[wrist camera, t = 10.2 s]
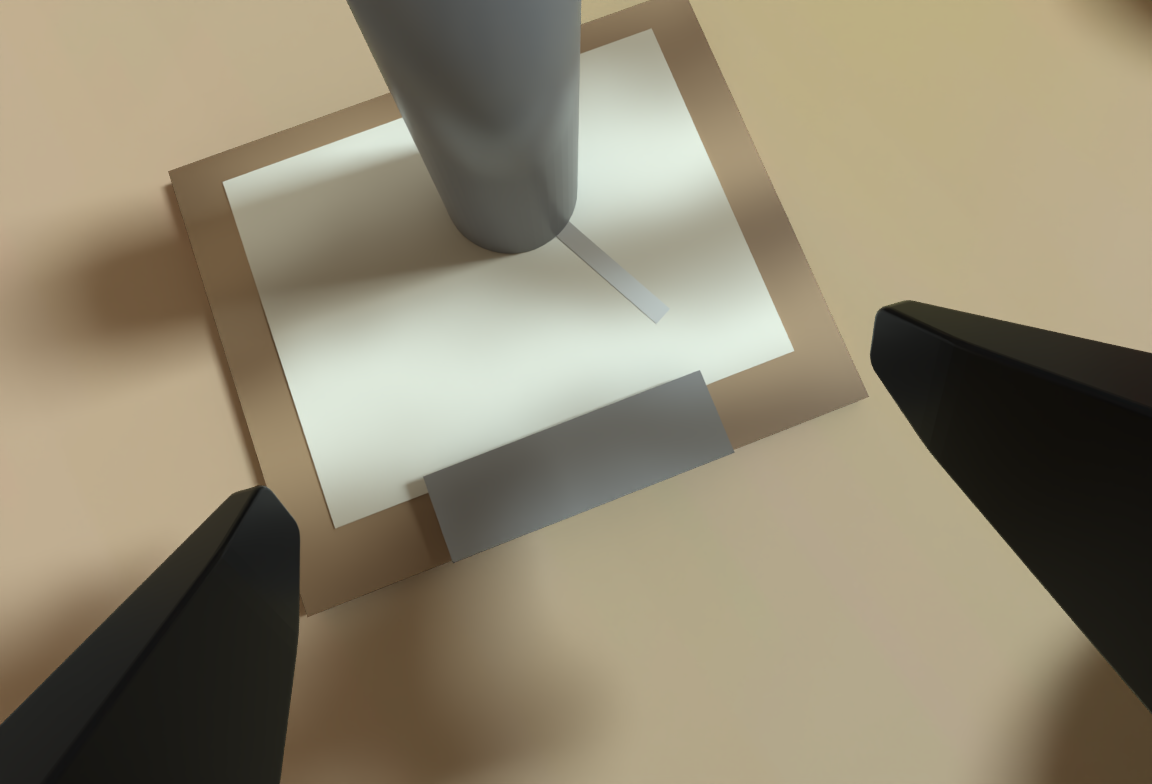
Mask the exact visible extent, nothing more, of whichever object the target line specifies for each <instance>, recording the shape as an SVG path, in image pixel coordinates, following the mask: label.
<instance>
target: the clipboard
mask: <svg viewBox="0 0 1152 784" xmlns="http://www.w3.org/2000/svg"><path fill="white" fill-rule="evenodd" d="M168 172H169V176H170V179H171V182H172V185H173V188H174V192H175V195H176V198H177V201H178V204H179V208H180V211H181V214H182V217H183V220H184V224H185V227H186V230H187V233H188V236H189V240H190V243H191V246H192V249H193V252H194V256H195V259H196V262H197V265H198V268H199V272H200V275H201V278H202V281H203V284H204V288H205V291H206V294H207V297H208V300H209V304H210V307H211V310H212V313H213V316H214V320H215V323H216V326H217V329H218V332H219V336H220V339H221V342H222V345H223V348H224V352H225V355H226V358H227V361H228V364H229V368H230V371H231V374H232V377H233V380H234V384H235V387H236V390H237V393H238V396H239V400H240V403H241V406H242V409H243V412H244V416H245V419H246V422H247V425H248V428H249V432H250V435H251V438H252V441H253V444H254V448H255V451H256V454H257V457H258V460H259V464H260V467H261V470H262V473H263V477H264V480H265V483H266V486H267V487H268V488H269V489H271V491H272V492H273V493H274V494H275V495H276V497H277V498H278V499H279V500H280V502H281V503H282V504H283V505H284V507H285V508H286V509H287V510H288V512H289V513H290V514H291V515H292V517H293V518H294V519H295V521H296V523H297V525H298V528H299V531H300V595H301V598H302V601H303V605H304V608H305V611H306V614H307V617H309V616H312V615H314V614H317V613H319V612H322V611H324V610H327V609H330V608H332V607H335V606H337V605H340V604H342V603H345V602H347V601H350V600H352V599H355V598H358V597H360V596H363V595H365V594H368V593H370V592H373V591H375V590H378V589H380V588H383V587H386V586H388V585H391V584H393V583H396V582H398V581H401V580H403V579H406V578H408V577H411V576H414V575H416V574H419V573H421V572H424V571H426V570H429V569H431V568H434V567H437V566H439V565H442V564H444V563H447V562H449V561H452V562H453V563H454V562H457V561H459V560H462V559H465V558H467V557H470V556H472V555H475V554H477V553H480V552H482V551H485V550H487V549H490V548H493V547H495V546H498V545H500V544H503V543H505V542H508V541H510V540H513V539H515V538H518V537H521V536H523V535H526V534H528V533H531V532H533V531H536V530H538V529H541V528H543V527H546V526H549V525H551V524H554V523H556V522H559V521H561V520H564V519H566V518H569V517H571V516H574V515H577V514H579V513H582V512H584V511H587V510H589V509H592V508H594V507H597V506H599V505H602V504H605V503H607V502H610V501H612V500H615V499H617V498H620V497H622V496H625V495H627V494H630V493H633V492H635V491H638V490H640V489H643V488H645V487H648V486H650V485H653V484H655V483H658V482H661V481H663V480H666V479H668V478H671V477H673V476H676V475H678V474H681V473H683V472H686V471H689V470H691V469H694V468H696V467H699V466H701V465H704V464H706V463H709V462H711V461H714V460H717V459H719V458H722V457H724V456H727V455H729V454H732V453H734V449H737V448H740V447H742V446H745V445H747V444H750V443H752V442H755V441H757V440H760V439H762V438H765V437H768V436H770V435H773V434H775V433H778V432H780V431H783V430H785V429H788V428H790V427H793V426H796V425H798V424H801V423H803V422H806V421H808V420H811V419H813V418H816V417H818V416H821V415H824V414H826V413H829V412H831V411H834V410H836V409H839V408H841V407H844V406H846V405H849V404H852V403H854V402H857V401H859V400H862V399H864V398H867V397H869V396H868V393H867V391H866V389H865V387H864V385H863V382H862V380H861V378H860V376H859V374H858V371H857V369H856V367H855V365H854V363H853V360H852V358H851V356H850V354H849V352H848V349H847V347H846V345H845V343H844V341H843V338H842V336H841V334H840V332H839V330H838V327H837V325H836V323H835V321H834V319H833V316H832V314H831V312H830V310H829V308H828V305H827V303H826V301H825V299H824V297H823V294H822V292H821V290H820V288H819V286H818V283H817V281H816V279H815V277H814V275H813V273H812V270H811V268H810V266H809V264H808V262H807V259H806V257H805V255H804V253H803V251H802V248H801V246H800V244H799V242H798V240H797V237H796V235H795V233H794V231H793V229H792V226H791V224H790V222H789V220H788V218H787V215H786V213H785V211H784V209H783V207H782V204H781V202H780V200H779V198H778V196H777V193H776V191H775V189H774V187H773V185H772V182H771V180H770V178H769V176H768V174H767V171H766V169H765V167H764V165H763V163H762V160H761V158H760V156H759V154H758V152H757V149H756V147H755V145H754V143H753V141H752V138H751V136H750V134H749V132H748V130H747V128H746V125H745V123H744V121H743V119H742V117H741V114H740V112H739V110H738V108H737V106H736V103H735V101H734V99H733V97H732V95H731V92H730V90H729V88H728V86H727V84H726V81H725V79H724V77H723V75H722V73H721V70H720V68H719V66H718V64H717V62H716V59H715V57H714V55H713V53H712V51H711V48H710V46H709V44H708V42H707V40H706V37H705V35H704V33H703V31H702V29H701V26H700V24H699V22H698V20H697V18H696V15H695V13H694V11H693V9H692V7H691V4H690V2H689V0H649V1H646V2H644V3H641V4H638V5H635V6H632V7H629V8H627V9H624V10H621V11H618V12H615V13H613V14H610V15H607V16H604V17H601V18H599V19H596V20H593V21H590V22H587V23H584V24H582V25H581V36H580V87H579V138H578V189H577V200H576V205H575V208H574V211H573V214H572V216H571V218H570V220H569V222H568V223H567V225H566V226H565V227H564V229H563V230H562V231H561V232H560V233H559V234H558V235H557V236H556V237H555V238H554V239H552V240H551V241H549V242H548V243H546V244H545V245H543V246H541V247H539V248H537V249H534V250H531V251H527V252H522V253H512V254H509V253H498V252H493V251H490V250H487V249H484V248H482V247H480V246H478V245H476V244H474V243H473V242H471V241H470V240H468V239H467V238H466V237H465V236H464V235H463V234H462V233H461V232H460V231H459V230H458V229H457V228H456V226H455V225H454V223H453V222H452V220H451V218H450V216H449V214H448V212H447V209H446V207H445V205H444V203H443V201H442V199H441V197H440V195H439V193H438V191H437V189H436V186H435V184H434V182H433V180H432V178H431V176H430V174H429V172H428V170H427V168H426V166H425V164H424V161H423V159H422V157H421V155H420V153H419V151H418V149H417V147H416V145H415V143H414V141H413V138H412V136H411V134H410V132H409V130H408V128H407V126H406V124H405V122H404V120H403V118H402V115H401V113H400V111H399V109H398V107H397V105H396V103H395V101H394V99H393V97H392V95H391V93H388V94H385V95H382V96H379V97H376V98H373V99H371V100H368V101H365V102H362V103H359V104H357V105H354V106H351V107H348V108H345V109H343V110H340V111H337V112H334V113H331V114H328V115H326V116H323V117H320V118H317V119H314V120H312V121H309V122H306V123H303V124H300V125H298V126H295V127H292V128H289V129H286V130H283V131H281V132H278V133H275V134H272V135H269V136H267V137H264V138H261V139H258V140H255V141H253V142H250V143H247V144H244V145H241V146H238V147H236V148H233V149H230V150H227V151H224V152H222V153H219V154H216V155H213V156H210V157H208V158H205V159H202V160H199V161H196V162H193V163H191V164H188V165H185V166H182V167H179V168H177V169H174V170H171V171H168Z"/></svg>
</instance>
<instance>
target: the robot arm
mask: <svg viewBox="0 0 1152 784" xmlns="http://www.w3.org/2000/svg"><path fill="white" fill-rule="evenodd" d="M870 359H871V364H872V366H873V369H874V371H875V372H876V374H877V375H878V377H879V378H880V380H881V381H882V383H883V384H884V386H885V387H886V389H887V390H888V392H889V393H890V395H891V396H892V398H893V399H894V401H895V402H896V404H897V405H898V407H899V408H900V410H901V411H902V412H903V414H904V415H905V417H906V418H907V420H908V421H909V423H910V424H911V426H912V427H913V429H914V430H915V432H916V433H917V435H918V436H919V438H920V439H921V440H922V442H923V443H924V445H925V446H926V447H927V449H928V450H929V451H930V453H931V454H932V455H933V456H934V458H935V459H936V460H937V461H938V463H939V464H940V465H941V466H942V467H943V468H944V470H945V471H946V472H947V473H948V474H949V476H950V477H951V478H952V479H953V480H954V481H955V483H956V484H957V485H958V486H959V487H960V489H961V490H962V491H963V492H964V493H965V494H966V496H967V497H968V498H969V499H970V500H971V501H972V503H973V504H974V505H975V506H976V507H977V509H978V510H979V511H980V512H981V513H982V514H983V516H984V517H985V518H986V519H987V520H988V522H989V523H990V524H991V525H992V526H993V527H994V529H995V530H996V531H997V532H998V533H999V535H1000V536H1001V537H1002V538H1003V539H1004V540H1005V542H1006V543H1007V544H1008V545H1009V546H1010V547H1011V549H1012V550H1013V551H1014V552H1015V553H1016V555H1017V556H1018V557H1019V558H1020V559H1021V560H1022V562H1023V563H1024V564H1025V565H1026V566H1027V568H1028V569H1029V570H1030V571H1031V572H1032V573H1033V575H1034V576H1035V577H1036V578H1037V579H1038V581H1039V582H1040V583H1041V584H1042V585H1043V586H1044V588H1045V589H1046V590H1047V591H1048V592H1049V593H1050V595H1051V596H1052V597H1053V598H1054V599H1055V601H1056V602H1057V603H1058V604H1059V605H1060V606H1061V608H1062V609H1063V610H1064V611H1065V612H1066V614H1067V615H1068V616H1069V617H1070V618H1071V619H1072V621H1073V622H1074V623H1075V624H1076V625H1077V626H1078V628H1079V629H1080V630H1081V631H1082V632H1083V634H1084V635H1085V636H1086V637H1087V638H1088V639H1089V641H1090V642H1091V643H1092V644H1093V645H1094V647H1095V648H1096V649H1097V650H1098V651H1099V652H1100V654H1101V655H1102V656H1103V657H1104V658H1105V660H1106V661H1107V662H1108V663H1109V664H1110V665H1111V667H1112V668H1113V669H1114V670H1115V671H1116V672H1117V674H1118V675H1119V676H1120V677H1121V678H1122V680H1123V681H1124V682H1125V683H1126V684H1127V685H1128V687H1129V688H1130V689H1131V690H1132V691H1133V693H1134V694H1135V695H1136V696H1137V697H1138V698H1139V700H1140V701H1141V702H1142V703H1143V704H1144V706H1145V707H1146V708H1147V709H1148V710H1149V711H1150V713H1151V714H1152V353H1148V352H1144V351H1139V350H1135V349H1130V348H1126V347H1121V346H1117V345H1112V344H1107V343H1103V342H1098V341H1094V340H1089V339H1085V338H1080V337H1076V336H1071V335H1066V334H1062V333H1057V332H1053V331H1048V330H1044V329H1039V328H1035V327H1030V326H1025V325H1021V324H1016V323H1012V322H1007V321H1003V320H998V319H994V318H989V317H984V316H980V315H975V314H971V313H966V312H962V311H957V310H953V309H948V308H943V307H939V306H934V305H930V304H925V303H921V302H916V301H911V300H906V301H902V302H898V303H895V304H891V305H888V306H884V307H882V308H881V309H879V310H878V312H877V314H876V316H875V322H874V329H873V336H872V343H871V351H870ZM299 601H300V531H299V528H298V525H297V523H296V521H295V519H294V518H293V517H292V515H291V514H290V513H289V512H288V510H287V509H286V508H285V507H284V505H283V504H282V503H281V502H280V500H279V499H278V498H277V497H276V495H275V494H274V493H273V492H272V491H271V489H269V488H268V487H266V486H261V485H260V486H255V487H252V488H248V489H245V490H241V491H238V492H235V493H233V494H232V495H231V496H229V497H228V498H227V499H226V500H225V501H224V502H223V503H222V504H221V505H220V506H219V507H218V508H217V509H216V510H215V511H214V512H213V513H212V514H211V515H210V516H209V517H208V518H207V519H206V520H205V521H204V522H203V523H202V524H201V525H200V526H199V527H198V528H197V529H196V530H195V531H194V532H193V533H192V534H191V535H190V536H189V537H188V538H187V539H186V540H185V541H184V542H183V543H182V544H181V545H180V546H179V547H178V548H177V549H176V550H175V551H174V552H173V553H172V554H171V555H170V556H169V557H168V558H167V559H166V560H165V561H164V562H163V563H162V564H161V565H160V566H159V567H158V568H157V569H156V570H155V571H154V572H153V573H152V574H151V575H150V576H149V577H148V578H147V579H146V580H145V581H144V582H143V583H142V584H141V585H140V586H139V587H138V588H137V589H136V590H135V591H134V592H133V593H132V594H131V595H130V596H129V597H128V598H127V599H126V600H125V601H124V602H123V603H122V604H121V605H120V606H119V607H118V608H117V609H116V610H115V611H114V612H113V613H112V614H111V615H110V616H109V617H108V618H107V619H106V620H105V621H104V622H103V623H102V624H101V625H100V626H99V627H98V628H97V629H96V630H95V631H94V632H93V633H92V634H91V635H90V636H89V637H88V638H87V639H86V640H85V641H84V642H83V643H82V644H81V645H80V646H79V647H78V648H77V649H76V650H75V651H74V652H73V653H72V654H71V655H70V656H69V657H68V658H67V659H66V660H65V661H64V662H63V663H62V664H61V665H60V666H59V667H58V668H57V669H56V670H55V671H54V672H53V673H52V674H51V675H50V676H49V677H48V678H47V679H46V680H45V681H44V682H43V683H42V684H41V685H40V686H39V687H38V688H37V689H36V690H35V691H34V692H33V693H32V694H31V695H30V696H29V697H28V698H27V699H26V700H25V701H24V702H23V703H22V704H21V705H20V706H19V707H18V708H17V709H16V710H15V711H14V712H13V713H12V714H11V715H10V716H9V717H8V718H7V719H6V720H5V721H4V722H3V723H2V724H1V725H0V784H280V778H281V770H282V762H283V755H284V747H285V739H286V731H287V724H288V716H289V708H290V700H291V693H292V685H293V677H294V670H295V662H296V654H297V645H298V635H299Z"/></svg>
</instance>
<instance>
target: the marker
mask: <svg viewBox="0 0 1152 784" xmlns="http://www.w3.org/2000/svg"><path fill="white" fill-rule="evenodd" d="M346 1H347V3H348V5H349V7H350V9H351V11H352V13H353V15H354V17H355V19H356V22H357V24H358V26H359V28H360V30H361V32H362V34H363V36H364V38H365V40H366V42H367V44H368V47H369V49H370V51H371V53H372V55H373V57H374V59H375V61H376V63H377V65H378V67H379V70H380V72H381V74H382V76H383V78H384V80H385V82H386V84H387V86H388V88H389V90H390V93H391V95H392V97H393V99H394V101H395V103H396V105H397V107H398V109H399V111H400V113H401V115H402V118H403V120H404V122H405V124H406V126H407V128H408V130H409V132H410V134H411V136H412V138H413V141H414V143H415V145H416V147H417V149H418V151H419V153H420V155H421V157H422V159H423V161H424V164H425V166H426V168H427V170H428V172H429V174H430V176H431V178H432V180H433V182H434V184H435V186H436V189H437V191H438V193H439V195H440V197H441V199H442V201H443V203H444V205H445V207H446V209H447V212H448V214H449V216H450V218H451V220H452V222H453V223H454V225H455V226H456V228H457V229H458V230H459V231H460V232H461V233H462V234H463V235H464V236H465V237H466V238H467V239H468V240H470V241H471V242H473V243H474V244H476V245H478V246H480V247H482V248H484V249H487V250H490V251H493V252H498V253H509V254H512V253H522V252H527V251H531V250H534V249H537V248H539V247H541V246H543V245H545V244H546V243H548V242H549V241H551V240H552V239H554V238H555V237H556V236H557V235H558V234H559V233H560V232H561V231H562V230H563V229H564V227H565V226H566V225H567V223H568V222H569V220H570V218H571V216H572V214H573V211H574V208H575V205H576V200H577V189H578V138H579V87H580V36H581V0H346Z"/></svg>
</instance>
